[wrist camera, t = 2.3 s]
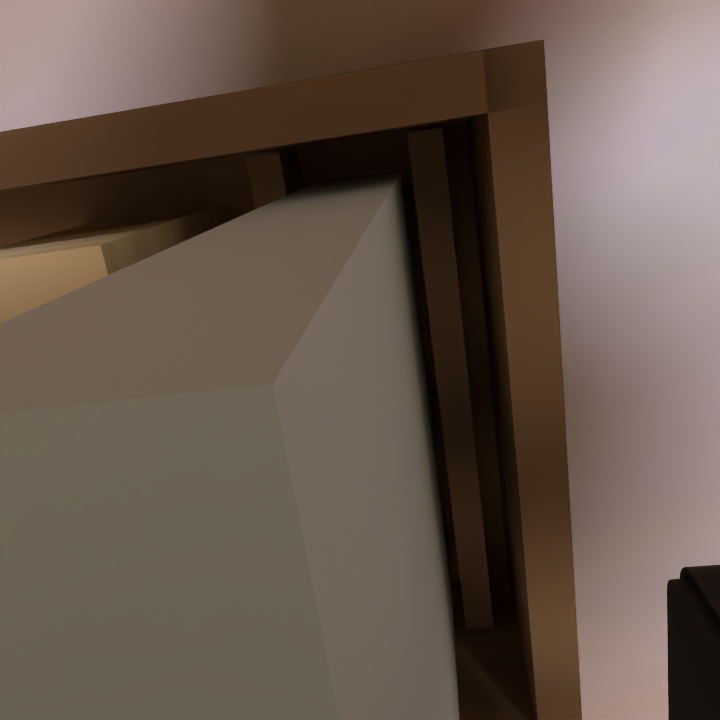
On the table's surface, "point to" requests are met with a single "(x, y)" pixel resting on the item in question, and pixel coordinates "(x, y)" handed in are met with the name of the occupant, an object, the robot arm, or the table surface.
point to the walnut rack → (434, 289)
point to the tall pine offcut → (89, 255)
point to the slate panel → (230, 480)
